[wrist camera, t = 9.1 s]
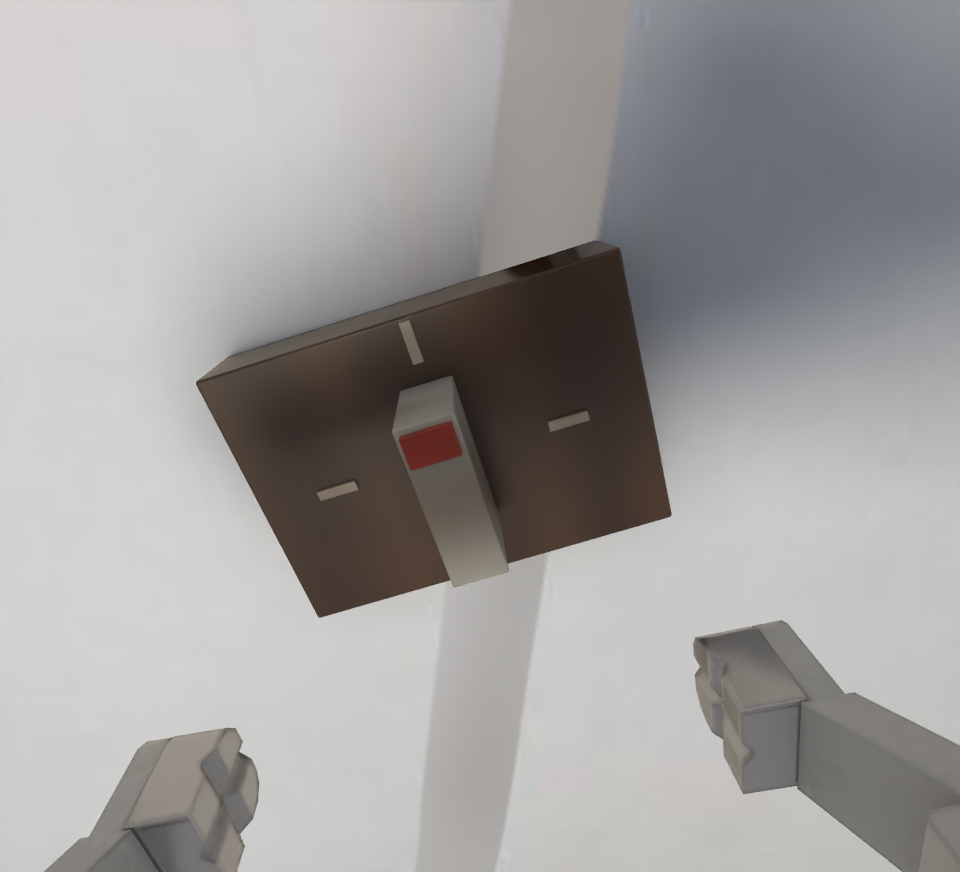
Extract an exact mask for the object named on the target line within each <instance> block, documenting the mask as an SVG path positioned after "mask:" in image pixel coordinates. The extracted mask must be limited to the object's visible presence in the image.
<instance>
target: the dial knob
mask: <svg viewBox="0 0 960 872" xmlns="http://www.w3.org/2000/svg"><path fill="white" fill-rule="evenodd" d="M392 434H393V436H394V439H395V441H396V444H397V447H398V449H399V452H400V454H401V457H402V459H403V462H404V464H405V467H406V469H407V472H408V474H409V477H410V479H411V482H412V484H413V487H414V489H415V492H416V494H417V497H418V499H419V502H420V505H421V507H422V510H423V512H424V515H425V517H426V520H427V522H428V525H429V527H430V530H431V532H432V535H433V537H434V540H435V542H436V545H437V547H438V550H439V552H440V555H441V557H442V560H443V562H444V565H445V568H446V570H447V573H448V575H449V578H450V580H451V583H452V585H453V586H454V587H457V586H461V585H465V584H468V583H471V582H475V581H479V580H481V579H485V578H488V577H492V576H496V575H499V574H503V573H506V572H508V571H509V568H508V563H507V557H506V552H505V546H504V540H503V535H502V529H501V524H500V518H499V513H498V510H497V507H496V504H495V501H494V498H493V495H492V492H491V489H490V486H489V483H488V480H487V477H486V474H485V471H484V468H483V465H482V462H481V459H480V456H479V453H478V450H477V448H476V445H475V442H474V439H473V436H472V433H471V430H470V427H469V424H468V421H467V418H466V415H465V412H464V409H463V406H462V403H461V400H460V397H459V394H458V391H457V388H456V385H455V382H454V379H453V377H452V376H447V377H444V378H441V379H438V380H434V381H431V382H428V383H425V384H422V385H418V386H415V387H412V388H409V389H405V390H402V391H400V395H399V400H398V405H397V409H396V414H395V419H394V424H393V429H392Z"/></svg>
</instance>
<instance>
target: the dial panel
mask: <svg viewBox="0 0 960 872" xmlns="http://www.w3.org/2000/svg"><path fill="white" fill-rule="evenodd" d="M447 376H452V377H453V379H454V382H455V385H456V388H457V391H458V394H459V397H460V400H461V403H462V406H463V409H464V412H465V415H466V418H467V421H468V424H469V427H470V430H471V433H472V436H473V439H474V442H475V445H476V448H477V450H478V453H479V456H480V459H481V462H482V465H483V468H484V471H485V474H486V477H487V480H488V483H489V486H490V489H491V492H492V495H493V498H494V501H495V504H496V507H497V510H498V513H499V518H500V524H501V529H502V535H503V540H504V546H505V552H506V557H507V563H511V562H515V561H518V560H522V559H525V558H529V557H532V556H536V555H539V554H543V553H546V552H550V551H553V550H557V549H560V548H563V547H567V546H570V545H574V544H577V543H581V542H584V541H588V540H591V539H595V538H598V537H602V536H605V535H609V534H612V533H616V532H619V531H622V530H626V529H629V528H633V527H636V526H640V525H643V524H647V523H650V522H654V521H657V520H661V519H664V518H668V517H670V516H671V508H670V503H669V498H668V493H667V488H666V483H665V477H664V472H663V467H662V462H661V457H660V452H659V447H658V441H657V436H656V431H655V426H654V421H653V416H652V410H651V405H650V400H649V395H648V390H647V385H646V379H645V374H644V369H643V364H642V359H641V354H640V348H639V343H638V338H637V333H636V328H635V323H634V318H633V312H632V307H631V302H630V297H629V292H628V287H627V281H626V276H625V271H624V266H623V261H622V256H621V250H620V249H619V248H618V247H615V246H611V245H608V244H605V243H602V242H598V241H592V242H589V243H586V244H582V245H579V246H576V247H573V248H570V249H567V250H564V251H560V252H557V253H554V254H551V255H548V256H545V257H541V258H538V259H535V260H532V261H529V262H526V263H523V264H520V265H517V266H513V267H510V268H507V269H504V270H501V271H498V272H494V273H491V274H488V275H485V276H482V277H479V278H476V279H472V280H469V281H466V282H463V283H460V284H457V285H454V286H450V287H447V288H444V289H441V290H438V291H435V292H432V293H429V294H425V295H422V296H419V297H416V298H413V299H410V300H407V301H403V302H400V303H397V304H394V305H391V306H388V307H385V308H381V309H378V310H375V311H372V312H369V313H366V314H363V315H359V316H356V317H353V318H350V319H347V320H344V321H341V322H337V323H334V324H331V325H328V326H325V327H322V328H319V329H316V330H312V331H309V332H306V333H303V334H300V335H297V336H294V337H290V338H287V339H284V340H281V341H278V342H275V343H272V344H268V345H265V346H262V347H259V348H256V349H253V350H250V351H246V352H243V353H240V354H237V355H234V356H231V357H228V358H226V359H225V360H224V361H222V362H221V363H220V364H219V365H217V366H216V367H215V368H213V369H212V370H211V371H209V372H208V373H207V374H206V375H204V376H203V377H202V378H200V379H199V380H198V381H197V382H196V385H197V387H198V389H199V391H200V393H201V394H202V396H203V398H204V400H205V402H206V404H207V406H208V408H209V410H210V412H211V413H212V415H213V417H214V419H215V421H216V423H217V425H218V427H219V429H220V431H221V433H222V434H223V436H224V438H225V440H226V442H227V444H228V446H229V448H230V450H231V452H232V453H233V455H234V457H235V459H236V461H237V463H238V465H239V467H240V469H241V471H242V473H243V474H244V476H245V478H246V480H247V482H248V484H249V486H250V488H251V490H252V492H253V493H254V495H255V497H256V499H257V501H258V503H259V505H260V507H261V509H262V511H263V513H264V514H265V516H266V518H267V520H268V522H269V524H270V526H271V528H272V530H273V532H274V534H275V535H276V537H277V539H278V541H279V543H280V545H281V547H282V549H283V551H284V553H285V554H286V556H287V558H288V560H289V562H290V564H291V566H292V568H293V570H294V572H295V574H296V575H297V577H298V579H299V581H300V583H301V585H302V587H303V589H304V591H305V593H306V594H307V596H308V598H309V600H310V602H311V604H312V606H313V608H314V610H315V612H316V614H317V615H318V617H320V618H321V617H324V616H328V615H331V614H334V613H338V612H341V611H345V610H348V609H352V608H355V607H359V606H362V605H366V604H369V603H373V602H376V601H380V600H383V599H387V598H390V597H393V596H397V595H400V594H404V593H407V592H411V591H414V590H418V589H421V588H425V587H428V586H432V585H435V584H439V583H442V582H446V581H449V580H450V578H449V575H448V573H447V570H446V568H445V565H444V562H443V560H442V557H441V555H440V552H439V550H438V547H437V545H436V542H435V540H434V537H433V535H432V532H431V530H430V527H429V525H428V522H427V520H426V517H425V515H424V512H423V510H422V507H421V505H420V502H419V499H418V497H417V494H416V492H415V489H414V487H413V484H412V482H411V479H410V477H409V474H408V472H407V469H406V467H405V464H404V462H403V459H402V457H401V454H400V452H399V449H398V447H397V444H396V441H395V439H394V436H393V434H392V429H393V424H394V419H395V414H396V409H397V405H398V400H399V395H400V391H402V390H405V389H409V388H412V387H415V386H418V385H422V384H425V383H428V382H431V381H434V380H438V379H441V378H444V377H447Z"/></svg>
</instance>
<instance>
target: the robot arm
mask: <svg viewBox="0 0 960 872" xmlns="http://www.w3.org/2000/svg"><path fill="white" fill-rule="evenodd" d="M693 647H694V656H695V658H696V660H697V662H698V664H699V666H700V668H699V670H698V671H697V672H696V674H695V681H696V690H697V694H698V698H699V702H700V706H701V709H702V711H703V714H704V716H705V719H706V721H707V723H708V725H709V727H710V729H711V731H712V732H713V733H714V734H716V735H717V736H719V737H720V738H722V739H723V747H724V757H725V759H726V761H727V763H728V765H729V767H730V769H731V771H732V773H733V775H734V777H735V779H736V781H737V783H738V785H739V787H740V789H741V790H742V792H743V794H747V793H754V792H760V791H766V790H773V789H779V788H786V787H792V786H798V787H797V789H798V790H800V791H801V792H802V793H804V794H805V795H806V796H807V797H809V798H810V799H811V800H812V801H814V802H815V803H816V804H817V805H819V806H820V807H821V808H823V809H824V810H825V811H826V812H828V813H829V814H830V815H831V816H833V817H834V818H835V819H836V820H838V821H839V822H840V823H841V824H843V825H844V826H845V827H847V828H848V829H849V830H850V831H852V832H853V833H854V834H855V835H857V836H858V837H859V838H860V839H862V840H863V841H864V842H865V843H867V844H868V845H869V846H871V847H872V848H873V849H874V850H876V851H877V852H878V853H879V854H881V855H882V856H883V857H884V858H886V859H887V860H888V861H889V862H891V863H892V864H893V865H895V866H896V867H897V868H898V869H900V870H901V871H902V872H960V746H959V745H957V744H956V743H954V742H952V741H950V740H948V739H946V738H944V737H942V736H940V735H938V734H936V733H934V732H932V731H930V730H928V729H926V728H924V727H922V726H920V725H918V724H916V723H914V722H912V721H910V720H908V719H906V718H904V717H902V716H900V715H898V714H896V713H894V712H892V711H890V710H888V709H886V708H884V707H882V706H880V705H878V704H876V703H874V702H872V701H870V700H868V699H866V698H864V697H862V696H860V695H858V694H857V693H855V692H854V693H848V694H845V693H844V692H843V691H842V690H841V688H840V687H839V686H838V685H837V683H836V682H835V681H834V680H833V678H832V677H831V676H830V675H829V674H828V672H827V671H826V670H825V669H824V667H823V666H822V665H821V664H820V663H819V661H818V660H817V659H816V658H815V656H814V655H813V654H812V653H811V652H810V650H809V649H808V648H807V647H806V645H805V644H804V643H803V642H802V640H801V639H800V638H799V637H798V636H797V634H796V633H795V632H794V631H793V629H792V628H791V627H790V626H789V625H788V624H787V623H786V622H784V621H782V620H780V621H775V622H770V623H765V624H760V625H755V626H752V627H745V628H740V629H735V630H730V631H725V632H721V633H716V634H711V635H706V636H701V637H696V638H695V640H694V643H693ZM242 742H243V741H242V739H241V737H240V736H239V734H238V732H237V730H236V729H235V728H224V729H217V730H211V731H205V732H199V733H193V734H187V735H181V736H175V737H172V738H166V739H160V740H154V741H148V742H146V743H145V744H143V745H142V746H141V747H140V748H139V749H138V750H137V751H136V753H135V755H134V757H133V758H132V760H131V762H130V764H129V766H128V768H127V769H126V771H125V773H124V775H123V777H122V778H121V780H120V782H119V784H118V786H117V787H116V789H115V791H114V793H113V795H112V796H111V798H110V800H109V802H108V804H107V805H106V807H105V809H104V811H103V813H102V815H101V816H100V818H99V820H98V822H97V824H96V825H95V827H94V829H93V831H92V833H91V834H90V836H89V837H86V838H82V839H79V840H78V841H77V842H76V843H75V844H74V845H73V846H72V847H70V848H69V849H68V850H67V851H66V852H65V853H64V854H63V855H62V856H61V857H60V858H58V859H57V860H56V861H55V862H54V863H53V864H52V865H51V866H50V867H49V868H48V869H46V870H45V871H44V872H237V870H238V866H239V863H240V860H241V857H242V853H243V850H244V847H245V845H244V843H243V840H242V838H241V836H240V833H241V832H242V831H243V830H244V829H245V827H246V826H247V825H248V824H249V823H250V822H251V820H252V819H253V817H254V813H255V810H256V806H257V803H258V791H259V780H258V775H257V770H256V767H255V765H254V763H253V761H252V759H251V758H249V757H247V756H245V755H244V754H242V753H240V752H239V750H240V748H241V745H242Z"/></svg>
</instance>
